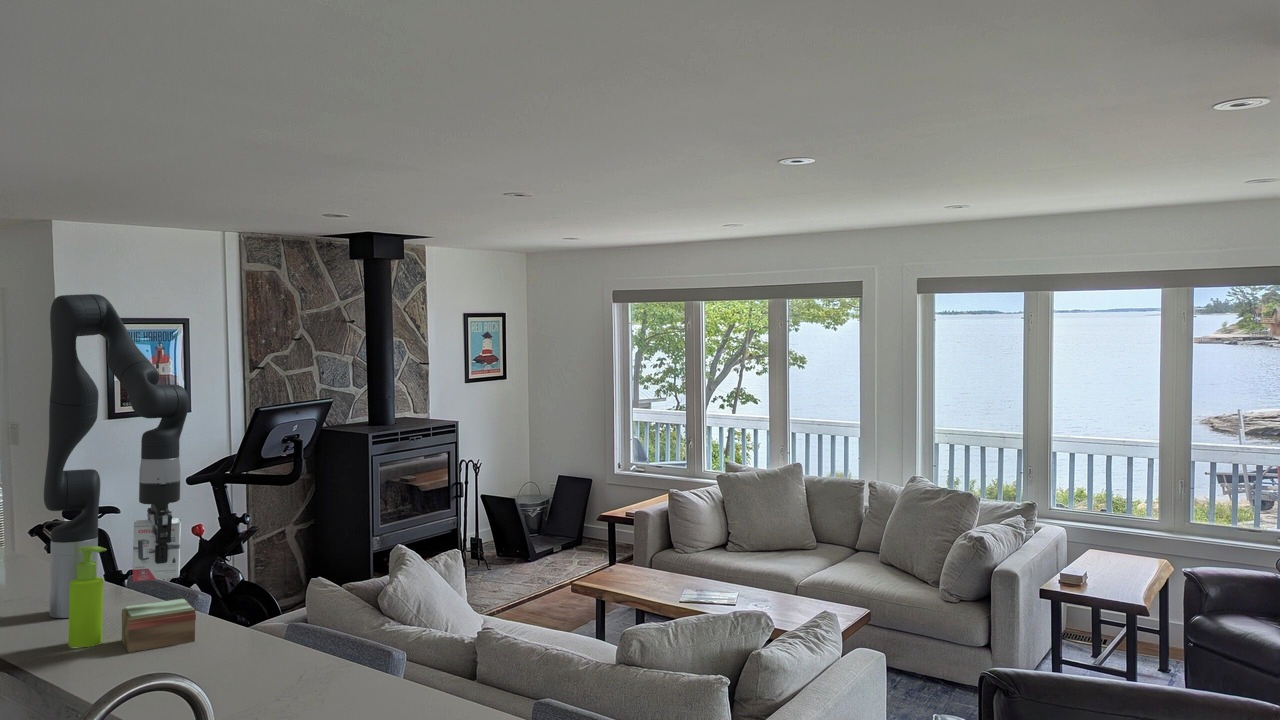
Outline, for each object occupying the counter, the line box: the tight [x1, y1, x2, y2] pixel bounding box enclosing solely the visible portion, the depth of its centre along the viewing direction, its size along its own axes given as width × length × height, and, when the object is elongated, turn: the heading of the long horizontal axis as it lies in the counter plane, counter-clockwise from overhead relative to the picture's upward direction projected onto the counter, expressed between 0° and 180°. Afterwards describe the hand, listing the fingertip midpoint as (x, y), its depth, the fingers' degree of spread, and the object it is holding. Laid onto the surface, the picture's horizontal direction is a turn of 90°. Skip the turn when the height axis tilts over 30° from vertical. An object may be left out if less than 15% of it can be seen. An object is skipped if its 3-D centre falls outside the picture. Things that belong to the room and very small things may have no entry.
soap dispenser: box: [67, 545, 108, 648], centre depth 177 cm, size 6×7×20 cm
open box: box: [121, 598, 197, 653], centre depth 180 cm, size 11×12×7 cm
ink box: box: [132, 517, 182, 582], centre depth 180 cm, size 9×5×12 cm, turn 119°
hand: (158, 560), depth 180 cm, fingers closed on ink box, 5 cm apart
